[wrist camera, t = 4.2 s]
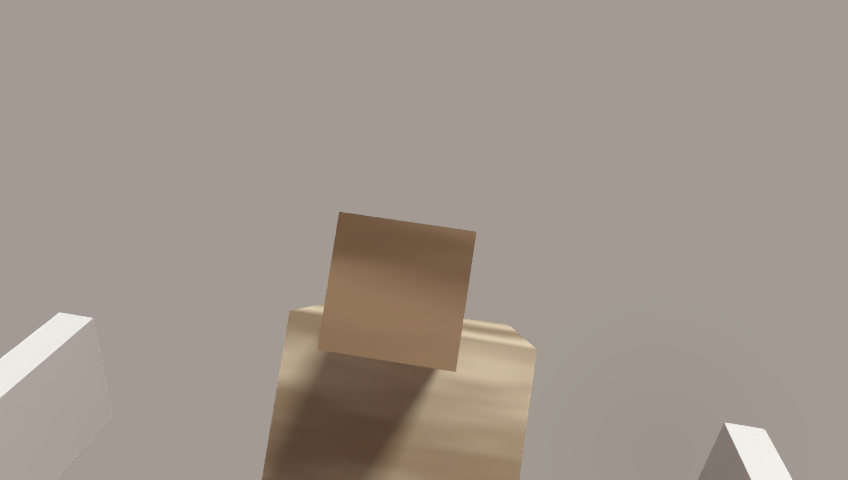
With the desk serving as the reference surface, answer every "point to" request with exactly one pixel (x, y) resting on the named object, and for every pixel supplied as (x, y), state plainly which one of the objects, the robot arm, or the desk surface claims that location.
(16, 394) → the robot arm
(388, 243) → the walnut bar
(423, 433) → the birch stand
